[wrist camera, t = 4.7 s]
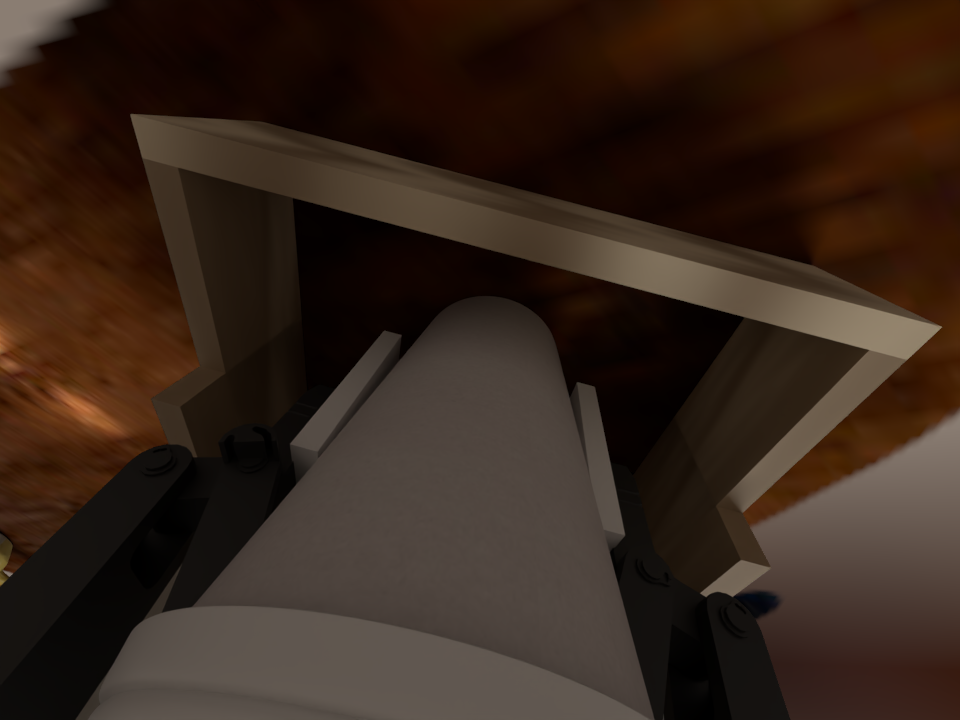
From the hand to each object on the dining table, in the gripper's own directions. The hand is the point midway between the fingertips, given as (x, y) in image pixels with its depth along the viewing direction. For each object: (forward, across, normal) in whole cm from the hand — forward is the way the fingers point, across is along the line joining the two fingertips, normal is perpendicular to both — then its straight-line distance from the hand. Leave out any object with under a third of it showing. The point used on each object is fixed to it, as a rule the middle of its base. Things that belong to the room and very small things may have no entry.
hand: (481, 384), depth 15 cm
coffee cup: (+2, 0, 0) cm, 2 cm away
